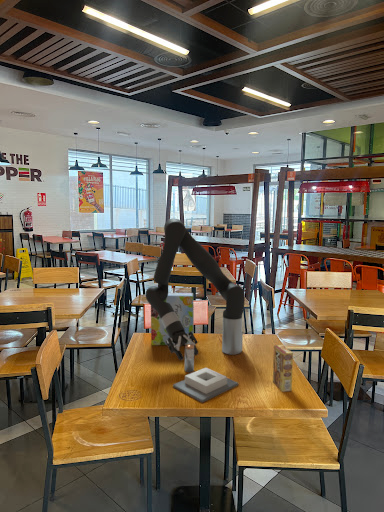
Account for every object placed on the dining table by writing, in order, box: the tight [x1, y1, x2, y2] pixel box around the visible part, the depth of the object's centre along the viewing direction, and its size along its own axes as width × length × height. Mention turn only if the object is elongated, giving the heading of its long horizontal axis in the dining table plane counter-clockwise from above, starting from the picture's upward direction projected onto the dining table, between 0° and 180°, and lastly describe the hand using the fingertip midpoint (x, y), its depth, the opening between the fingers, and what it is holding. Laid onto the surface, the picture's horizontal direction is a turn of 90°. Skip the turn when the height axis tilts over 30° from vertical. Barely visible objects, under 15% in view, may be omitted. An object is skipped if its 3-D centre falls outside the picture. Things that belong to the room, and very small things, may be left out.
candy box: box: [272, 344, 294, 393], centre depth 144 cm, size 9×4×15 cm, turn 13°
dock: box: [172, 367, 239, 404], centre depth 144 cm, size 20×16×4 cm
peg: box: [184, 344, 195, 373], centre depth 158 cm, size 4×4×11 cm
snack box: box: [150, 292, 195, 346], centre depth 190 cm, size 22×9×26 cm, turn 89°
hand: (189, 357), depth 158 cm, fingers open, 8 cm apart
